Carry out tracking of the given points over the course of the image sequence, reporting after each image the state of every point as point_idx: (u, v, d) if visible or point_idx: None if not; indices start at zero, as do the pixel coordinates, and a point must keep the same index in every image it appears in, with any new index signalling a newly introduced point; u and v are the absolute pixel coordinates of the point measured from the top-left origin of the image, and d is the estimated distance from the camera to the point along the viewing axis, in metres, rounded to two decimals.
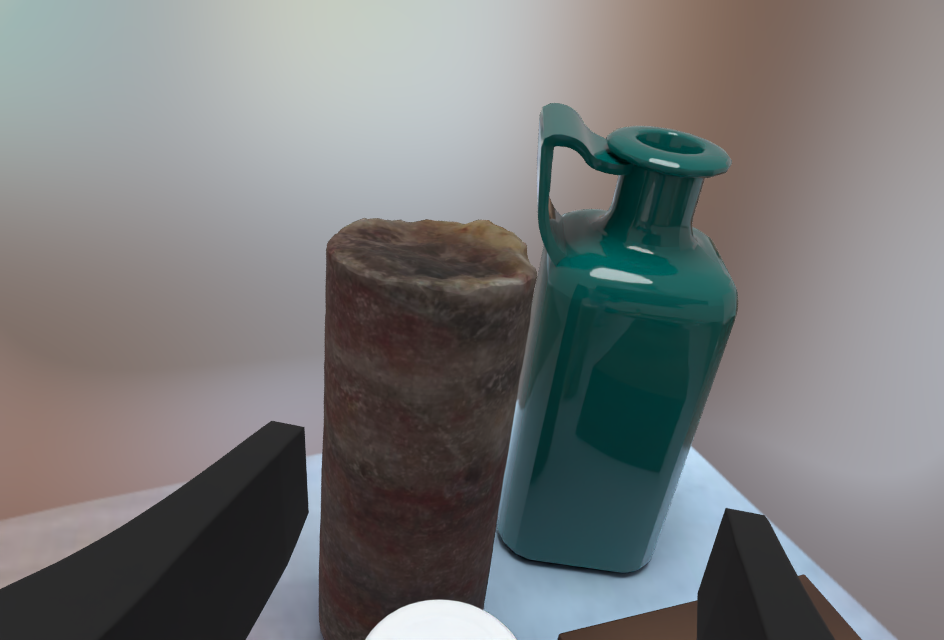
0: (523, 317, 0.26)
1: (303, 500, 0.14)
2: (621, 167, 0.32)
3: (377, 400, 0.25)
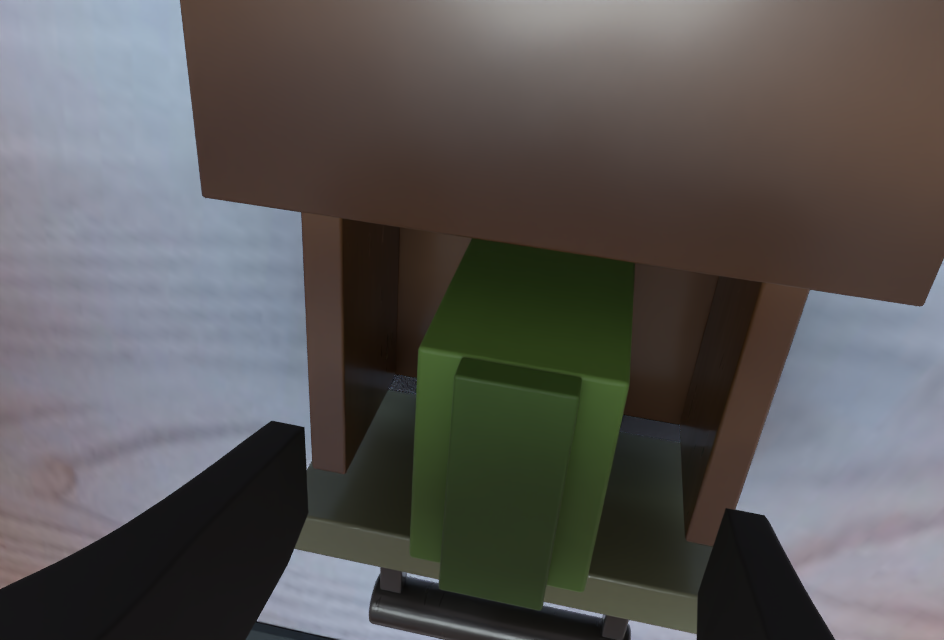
0: None
1: (303, 500, 0.14)
2: None
3: None
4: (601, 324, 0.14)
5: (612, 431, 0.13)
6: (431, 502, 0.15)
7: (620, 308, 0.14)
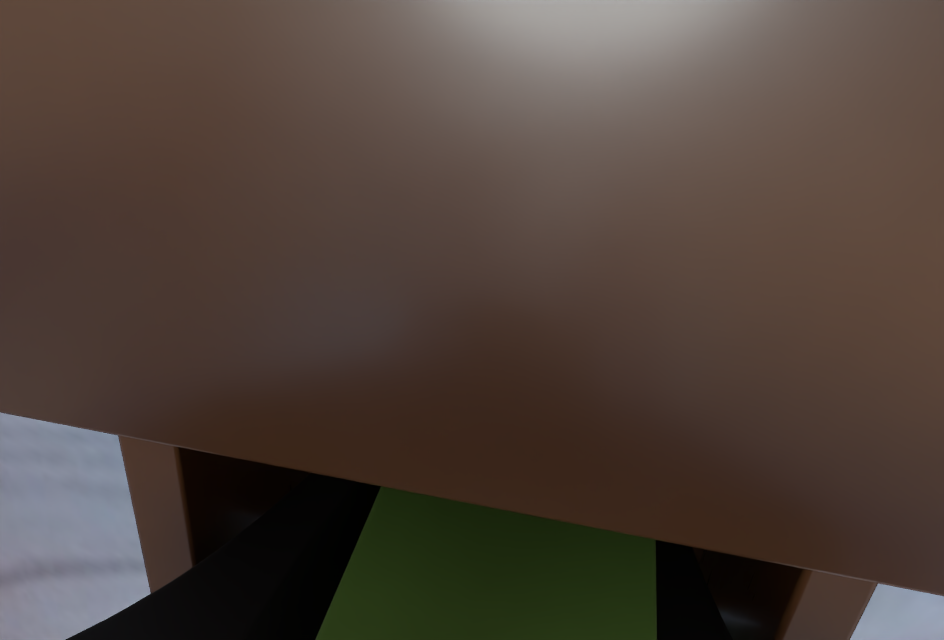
0: None
1: None
2: None
3: None
4: (609, 577, 0.09)
5: None
6: None
7: (637, 537, 0.09)
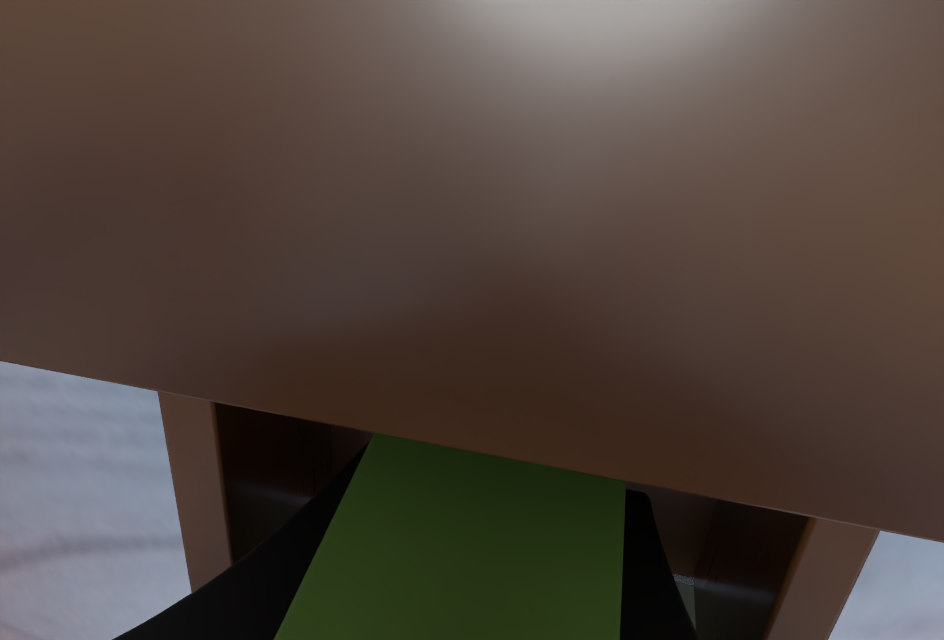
0: None
1: None
2: None
3: None
4: (573, 583, 0.09)
5: None
6: None
7: (604, 542, 0.09)
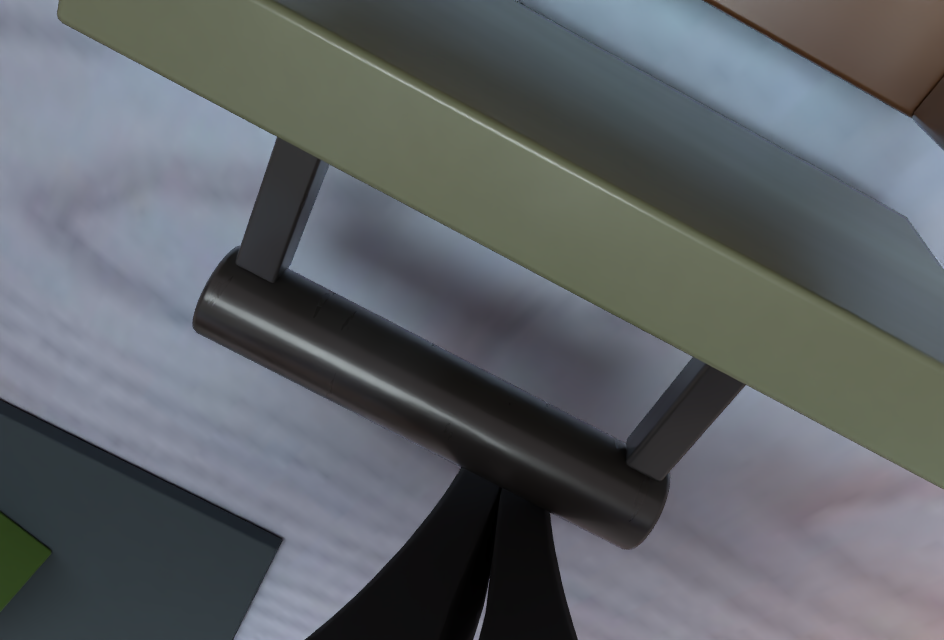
0: None
1: None
2: None
3: None
4: None
5: None
6: None
7: None
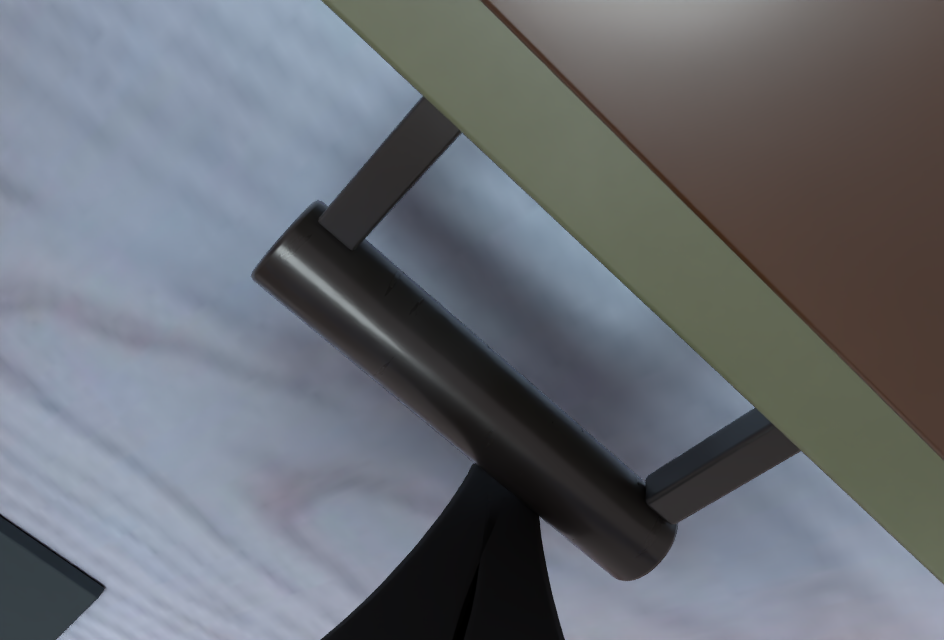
0: None
1: None
2: None
3: None
4: None
5: None
6: None
7: None
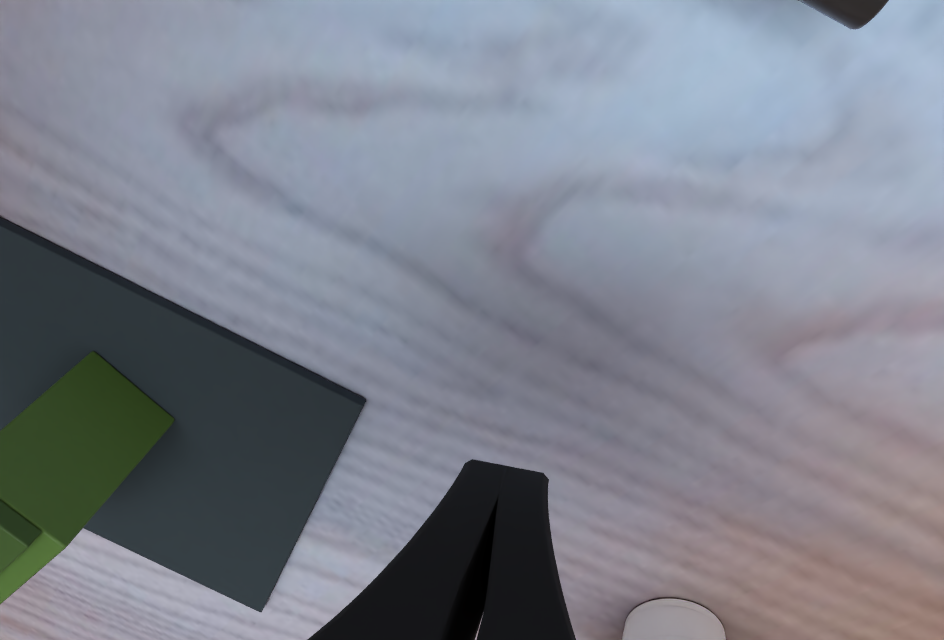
0: None
1: None
2: None
3: None
4: (87, 493, 0.23)
5: (46, 559, 0.22)
6: None
7: (110, 483, 0.23)
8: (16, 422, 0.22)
